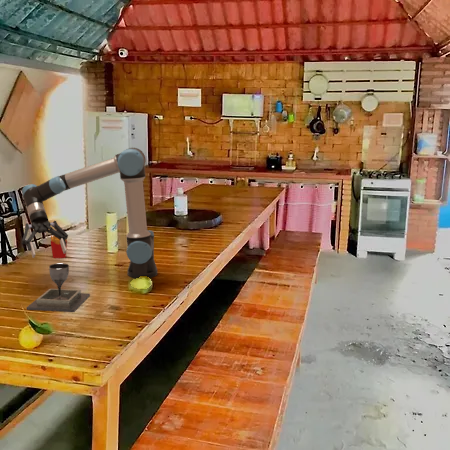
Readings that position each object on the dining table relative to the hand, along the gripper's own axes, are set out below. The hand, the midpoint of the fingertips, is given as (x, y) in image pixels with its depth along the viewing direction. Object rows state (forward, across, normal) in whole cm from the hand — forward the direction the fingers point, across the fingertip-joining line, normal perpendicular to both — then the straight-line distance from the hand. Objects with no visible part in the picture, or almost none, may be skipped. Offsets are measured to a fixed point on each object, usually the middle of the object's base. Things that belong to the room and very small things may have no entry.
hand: (49, 254), depth 226 cm
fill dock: (+21, 0, -6) cm, 22 cm away
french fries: (-29, -24, -56) cm, 68 cm away
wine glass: (+20, 0, -6) cm, 21 cm away
